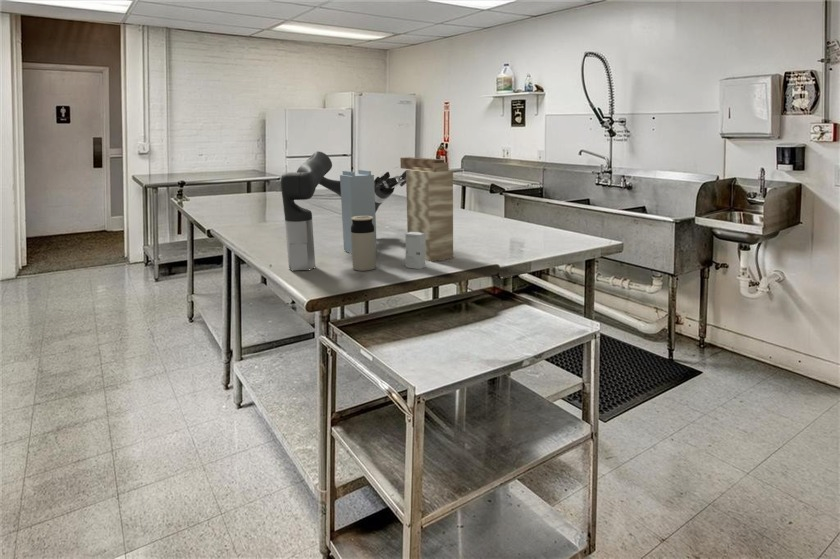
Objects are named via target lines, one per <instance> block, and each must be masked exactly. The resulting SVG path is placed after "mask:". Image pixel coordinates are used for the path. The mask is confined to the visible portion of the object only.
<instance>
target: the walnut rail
mask: <svg viewBox="0 0 840 559" xmlns="http://www.w3.org/2000/svg"><path fill="white" fill-rule="evenodd" d="M399 158H400V160H399V161H400V169H403V170H404V169H405V170H412V167H420V168H431V169H433V163H444V162H445V159H443V158H441V159H440V158H425V157H424V158H423V157H412V156H411V157H410V156H409V157H407V156H406V157H399Z"/></svg>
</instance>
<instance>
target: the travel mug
mask: <svg viewBox="0 0 840 559" xmlns="http://www.w3.org/2000/svg"><path fill="white" fill-rule="evenodd" d="M351 219H352V223H353V224H352V226H351V241H352V254H351V255H352V256H351V257H352V258H351V259H352V260H351V261H352V269H353V270H354V271H358V272H359V271H360V272H368V271H373V270H374V269H376V267H377V265H376V264H377V263H376V261H377V260H376V252H375V235H374V225H373V223H372V219H373V217H372V216H355V217H352V218H351Z"/></svg>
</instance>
